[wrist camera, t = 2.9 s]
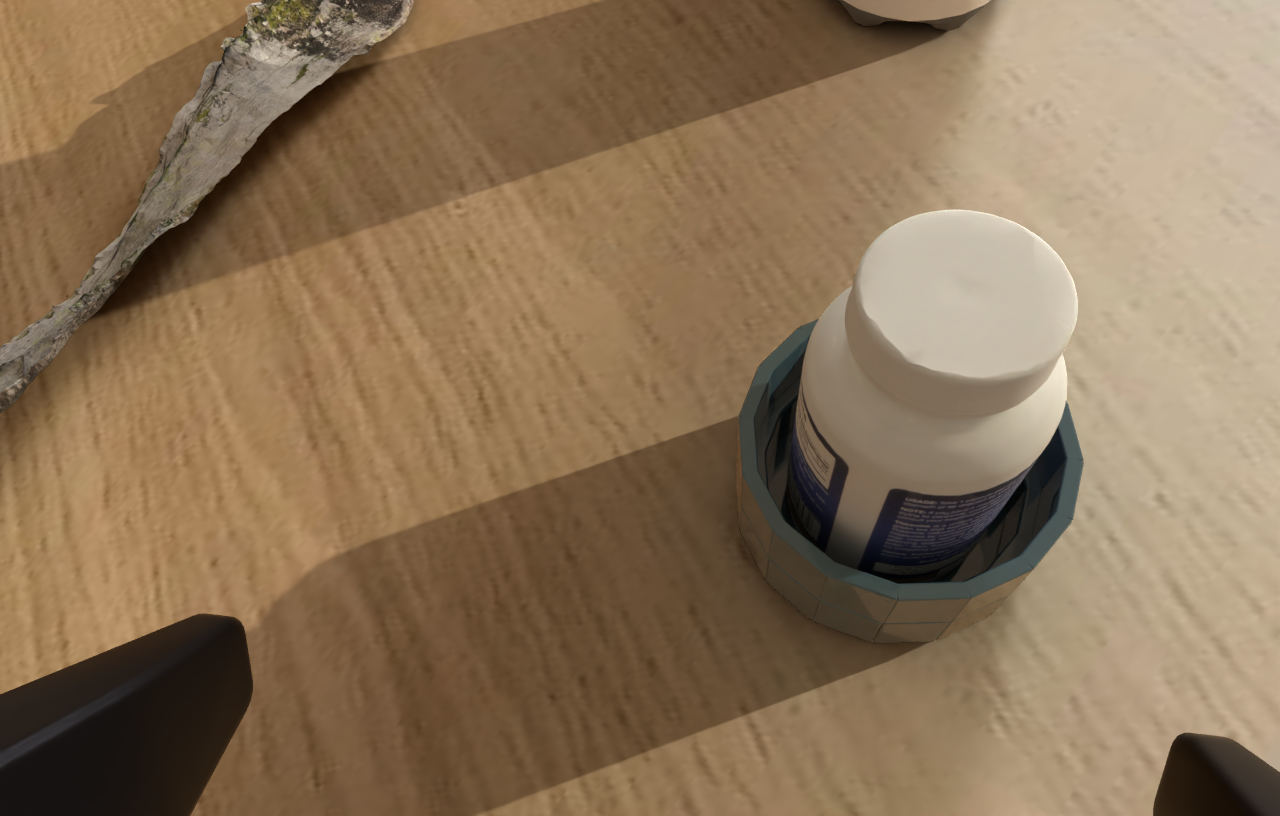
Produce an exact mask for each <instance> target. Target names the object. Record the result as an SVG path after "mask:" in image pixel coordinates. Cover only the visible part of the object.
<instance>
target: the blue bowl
mask: <svg viewBox="0 0 1280 816" xmlns="http://www.w3.org/2000/svg"><path fill="white" fill-rule="evenodd" d="M818 320H819V319H818ZM818 320H815V321H813V322H810V323H808V324H805V325H803V326H800V327H799V328H797V329H796V330H795V331H794V332H793V333H792V334H791V335H790V336H789V337H788V338H787V339H786V340H785V341H784V342H783V343H782V344H781V345H780V346H779V347H778V348H777V349H776V350H774V351H773V352H772V353H771V354H770V355H769V356H768V357H767V358H766V359H765V360H764V361H763V362H762V363H761V364H760V365H759V367H758V368H757V371H756V373H755V376H754V378H753V381H752V383H751V386H750V388H749V391H748V393H747V396H746V399H745V401H744V404H743V406H742V409H741V411H740V414H739V418H738V439H737V466H736V487H737V503H738V518H739V529H740V533H741V535H742V537H743V538H744V540H745V542H746V544H747V546H748V548H749V550H750V552H751V554H752V556H753V558H754V560H755V562H756V564H757V566H758V568H759V569H760V571H761V573H762V575H763V577H764V579H765V580H767V583H768V584H770V585H771V586H772V587H773V588H774V589H775V590H777V591H778V592H779V593H780V594H781V595H782V596H783V597H785V598H786V599H787V600H788V601H789V602H790V603H792V604H793V605H794V606H795V607H796V608H797V609H798V610H800V611H801V612H802V613H803V614H804V615H805V616H807V617H808V618H809V619H810V620H814V621H815V622H816V623H819V624H822V625H825V626H827V627H830V628H833V629H836V630H838V631H841V632H844V633H847V634H849V635H852V636H855V637H858V638H860V639H863V640H866V641H869V642H872V641H873V642H874V643H894V642H932V641H935V640H940V639H942V638H944V637H946V636H948V635H951V634H953V633H955V632H957V631H959V630H961V629H963V628H966V627H968V626H970V625H972V624H974V623H976V622H978V621H981V620H983V619H985V618H987V617H988V616H989V615H991V614H992V613H993V612H994V611H995V610H996V609H997V608H998V607H999V606H1000V605H1001V604H1002V602H1003V601H1004V600H1005V599H1006V598H1007V597H1008V596H1009V595H1010V594H1011V593H1012V592H1013V591H1014V590H1015V589H1016V588H1017V587H1018V585H1019V584H1020V583H1021V582H1022V581H1023V580H1024V579H1025V578H1026V577H1027V576H1028V575H1029V574H1030V573H1031V572H1032V571H1033V570H1034V568H1035V567H1036V566H1037V565H1038V563H1039V562H1040V561H1041V560H1042V559H1043V557H1044V556H1045V555H1046V554H1047V552H1048V551H1049V550H1050V549H1051V547H1052V546H1053V545H1054V544H1055V542H1056V541H1057V540H1058V539H1059V537H1060V536H1061V535H1062V534H1063V533H1064V531H1065V530H1066V529H1067V528H1068V526H1069V525H1070V524H1071V523H1072V520H1073V517H1074V512H1075V506H1076V501H1077V496H1078V491H1079V485H1080V480H1081V475H1082V470H1083V464H1084V462H1083V456H1082V452H1081V449H1080V445H1079V442H1078V438H1077V434H1076V431H1075V427H1074V424H1073V420H1072V416H1071V413H1070V409H1069V406H1068V403H1067V401H1066V403H1065V408H1064V411H1063V415H1062V418H1061V420H1060V422H1059V425H1058V427H1057V429H1056V431H1055V433H1054V435H1053V437H1052V438H1051V440H1050V442H1049V444H1048V445H1047V446H1046V448H1045V449H1044V450H1043V452H1042V453H1041V455H1040V456H1039V457H1038V459H1037V460H1036V462H1035V463H1034V465H1033V466H1032V468H1031V469H1030V470H1029V472H1028V474H1027V475H1026V476H1025V477H1024V479H1023V480H1022V482H1021V483H1020V484H1019V486H1018V487H1017V488H1016V490H1015V491H1014V493H1013V494H1012V495H1011V497H1010V498H1009V500H1008V501H1007V503H1006V504H1005V505H1004V507H1003V508H1002V509H1001V511H1000V512H999V514H998V515H997V516H996V518H995V519H994V521H993V522H992V524H991V525H990V526H989V528H988V529H987V531H986V533H985V534H984V536H983V537H982V538H981V540H980V541H979V543H978V544H977V545H976V547H975V548H974V549H973V550H972V551H971V553H970V554H969V555H968V556H967V557H966V558H965V559H964V560H963V561H962V562H961V563H960V564H959V565H958V566H957V567H956V568H954V569H953V570H951V571H950V572H949V573H947V574H946V575H945V576H943V577H941V578H938V579H936V580H934V581H932V582H929V583H904V584H897V583H894V582H892V581H889V580H886V579H883V578H880V577H877V576H874V575H871V574H868V573H865V572H862V571H859V570H857V569H854V568H851V567H848V566H845V565H842V564H839V563H836V562H834V561H833V560H832V559H831V558H830V557H828V556H827V555H826V554H825V553H823V552H822V551H821V550H820V549H819V548H817V547H816V546H815V545H814V544H812V543H811V542H810V541H809V540H808V539H806V538H805V537H804V536H803V535H802V534H800V533H799V532H798V531H797V530H796V528H795V526H794V523H793V521H792V518H791V515H790V512H789V507H788V502H787V474H788V463H789V458H790V448H791V442H792V436H793V429H794V423H795V416H796V409H797V402H798V396H799V388H800V382H801V375H802V368H803V361H804V357H805V353H806V349H807V345H808V342H809V338H810V336H811V333H812V331H813V329H814V327H815V325H816V323H817V321H818Z"/></svg>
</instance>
